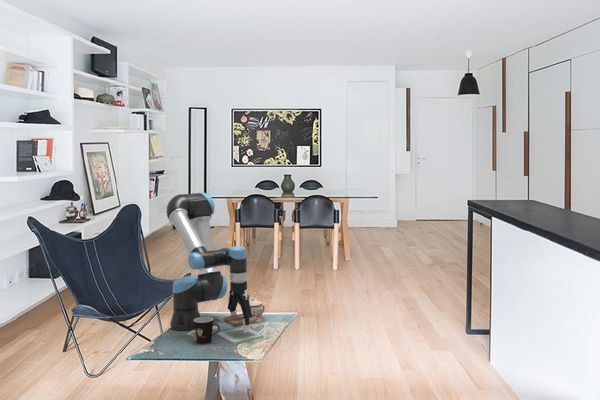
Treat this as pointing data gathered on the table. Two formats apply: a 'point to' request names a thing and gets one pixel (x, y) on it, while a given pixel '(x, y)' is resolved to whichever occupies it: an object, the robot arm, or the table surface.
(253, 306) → the teacup with lid
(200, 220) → the robot arm
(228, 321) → the walnut lid
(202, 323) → the coffee mug
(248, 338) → the sage mat
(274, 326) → the table surface
